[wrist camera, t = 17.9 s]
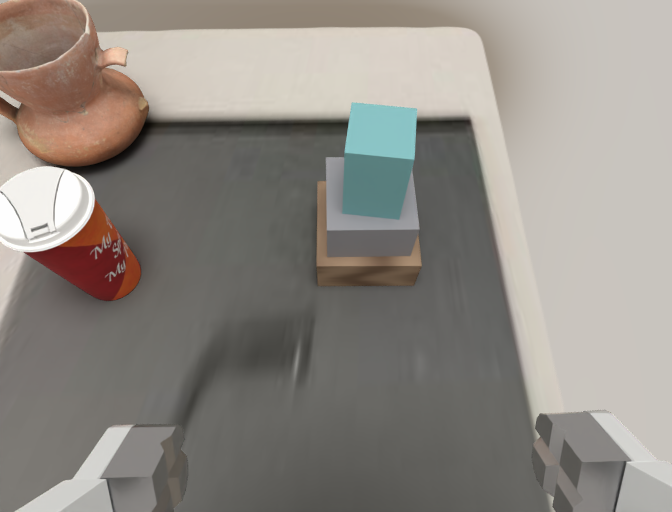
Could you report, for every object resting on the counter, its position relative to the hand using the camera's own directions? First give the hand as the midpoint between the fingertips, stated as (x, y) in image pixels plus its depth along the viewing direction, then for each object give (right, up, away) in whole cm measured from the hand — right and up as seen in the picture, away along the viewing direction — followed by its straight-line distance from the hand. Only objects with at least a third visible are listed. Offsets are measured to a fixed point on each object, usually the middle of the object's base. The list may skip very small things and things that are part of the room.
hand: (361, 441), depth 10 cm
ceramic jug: (-31, +20, +46) cm, 59 cm away
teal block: (+3, +10, +30) cm, 31 cm away
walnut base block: (+3, +5, +39) cm, 39 cm away
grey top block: (+3, +8, +34) cm, 35 cm away
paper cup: (-24, +2, +36) cm, 44 cm away
